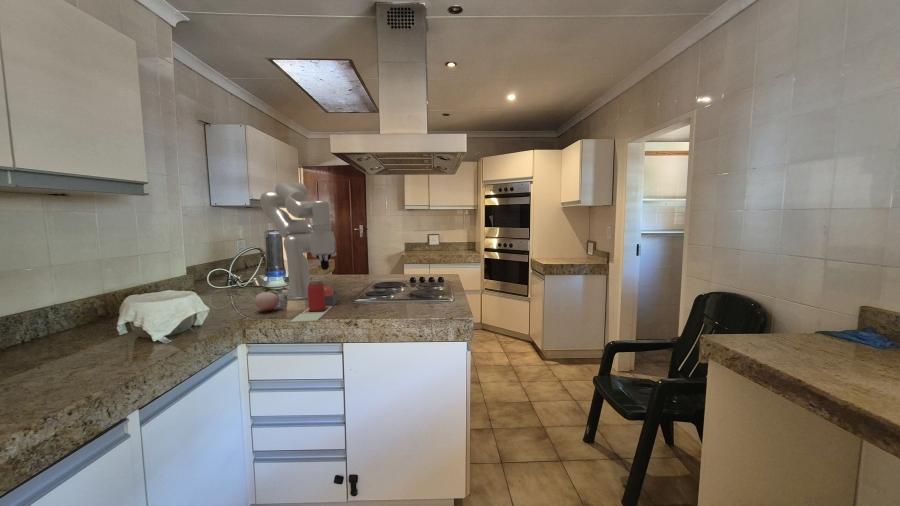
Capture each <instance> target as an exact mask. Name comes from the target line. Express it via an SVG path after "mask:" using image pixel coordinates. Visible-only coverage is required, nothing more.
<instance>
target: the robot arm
mask: <svg viewBox="0 0 900 506" xmlns="http://www.w3.org/2000/svg"><path fill="white" fill-rule="evenodd" d="M307 196H308V189H307V187H306V185H305V184H303V183H302V182H292V181H290V182H289V181H282V182H279V183H278V184H276V186H275V189H274V190H271V191H269V190H268V191H265V192H263V193H262V194H261V195H260V198H259V203H260V208H261V209H262V211H263V213H264V214H265V216H266V217H267V218H268V219H269V220H270V221H271V222H272V224H273V225H274V227H275V229H276V230H277V231H278V233H279V235H280V237H282V238H284V239H283V247H284V252H285V257H286V262H287V263H286V264H287V273H288V285H289V287H288V289H281V293H282V295H287V296H286V299H287V300H291V301H299V300H306V299H308V285H309V283H310V282H311V280H310V279H311V278H310V265H309V260H308V258H307V257H306V256H305V255H304V254H305V253H310V254H311V257H313V258H317V259H318V260H319V261H320V267H321V269H322V271H324V270H325V271H327V270H328V269H329V268H330V264H329V261H330V259H331V258H332V257H335V256H337V246H336V245H337V244H336V239H335V235H334V232H333V231H332V223H331V222H332V221H331V209H330V203H329V202H328V200H314V201H309V200H306V198H307ZM282 208H283V209H284V208H285V209H286V211H287V212H286V211H285V210H283V209H282ZM289 214H290V215H291V216H292V217H294V218H297V219H292V217H290V215H289ZM306 219H311V220H312V223H311V222H310V221H308V220H306Z"/></svg>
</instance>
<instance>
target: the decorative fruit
mask: <svg viewBox="0 0 900 506" xmlns="http://www.w3.org/2000/svg"><path fill="white" fill-rule="evenodd" d="M279 294H280V293H279V292H278V291H276V290H272V289H270V290H268V287H267V288H265V290H259V291H257V292H256V293H255V299H254V300H255V304H256V306H257V308H258V309H259V310H262V311H265V312H270V311H272V310H273V309H275V308H276V307H277V306H279V303H280V299H281V298H280V295H279Z"/></svg>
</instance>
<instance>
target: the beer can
mask: <svg viewBox="0 0 900 506" xmlns="http://www.w3.org/2000/svg"><path fill="white" fill-rule="evenodd" d="M324 286H325V285H324V284H323V281H310V283H309V285H308V298H307V299H308V308H309V310H308V311H309V312H324V310H325V311H326V308H327V307H326V306H325V292H324Z"/></svg>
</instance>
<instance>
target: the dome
mask: <svg viewBox="0 0 900 506" xmlns="http://www.w3.org/2000/svg"><path fill="white" fill-rule="evenodd" d="M324 292H325V296H333V295H334V289H333V288H332V287H331V286H330V285H329V286H328V285H324Z"/></svg>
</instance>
